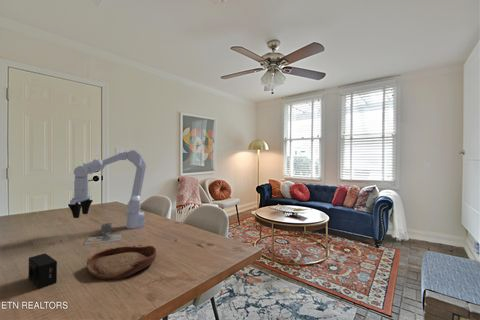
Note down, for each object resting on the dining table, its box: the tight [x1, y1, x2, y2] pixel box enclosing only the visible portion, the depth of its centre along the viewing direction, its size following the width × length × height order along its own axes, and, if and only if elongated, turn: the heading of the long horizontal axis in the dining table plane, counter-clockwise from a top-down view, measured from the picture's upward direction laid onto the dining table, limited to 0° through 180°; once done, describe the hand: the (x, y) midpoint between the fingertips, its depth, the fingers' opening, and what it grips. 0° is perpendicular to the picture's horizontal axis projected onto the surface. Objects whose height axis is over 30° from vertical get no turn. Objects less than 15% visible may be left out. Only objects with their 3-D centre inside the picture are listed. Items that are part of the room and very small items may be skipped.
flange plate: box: [84, 233, 123, 245], centre depth 104 cm, size 14×8×2 cm, turn 114°
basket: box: [86, 245, 157, 281], centre depth 81 cm, size 22×20×5 cm
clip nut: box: [100, 222, 113, 236], centre depth 111 cm, size 4×4×5 cm
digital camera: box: [27, 253, 58, 290], centre depth 70 cm, size 10×5×7 cm, turn 57°
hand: (80, 215), depth 113 cm, fingers open, 7 cm apart
